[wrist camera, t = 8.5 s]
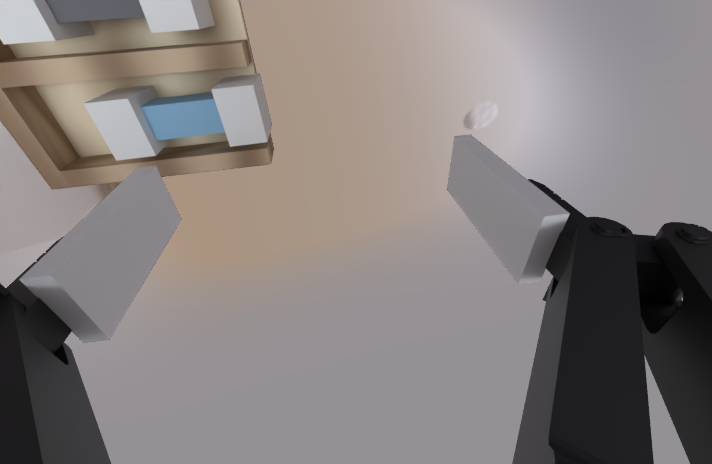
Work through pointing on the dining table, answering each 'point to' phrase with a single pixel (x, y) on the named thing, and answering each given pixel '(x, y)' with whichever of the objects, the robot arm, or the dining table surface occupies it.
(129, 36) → the wooden compartment tray
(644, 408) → the robot arm
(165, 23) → the blocky gray dumbbell
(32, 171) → the dining table surface
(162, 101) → the blocky blue dumbbell
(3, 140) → the dining table surface
